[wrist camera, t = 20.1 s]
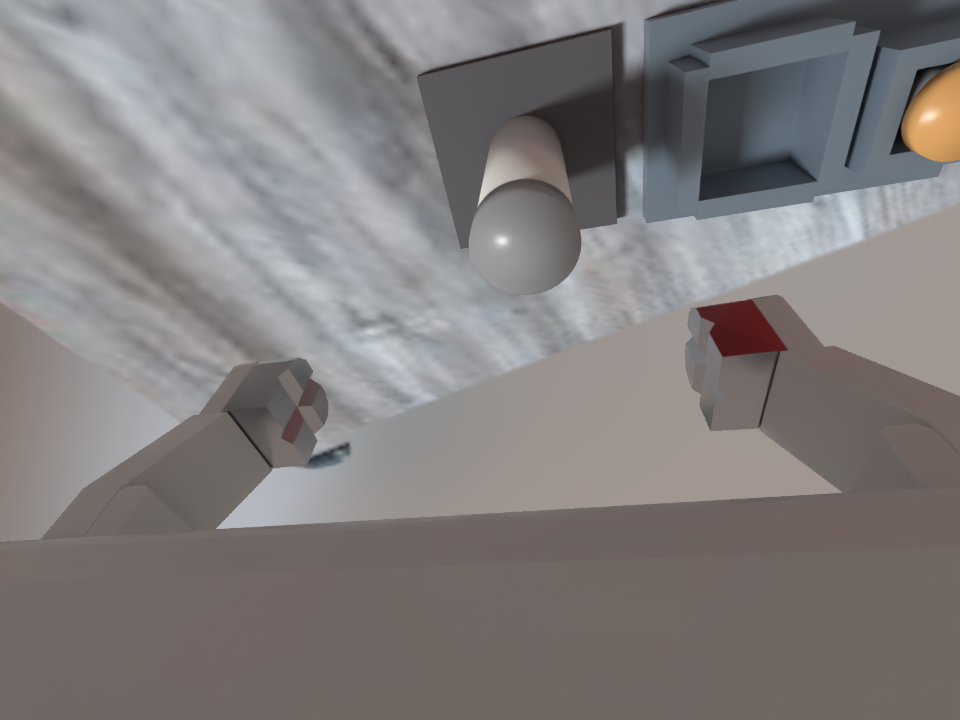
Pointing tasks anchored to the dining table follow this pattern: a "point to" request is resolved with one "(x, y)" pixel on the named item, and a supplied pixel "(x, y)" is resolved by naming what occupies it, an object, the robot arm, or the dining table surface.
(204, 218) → the dining table surface
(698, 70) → the grey double open block
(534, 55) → the mat
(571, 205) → the cartridge
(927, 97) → the brown egg
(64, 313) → the dining table surface
